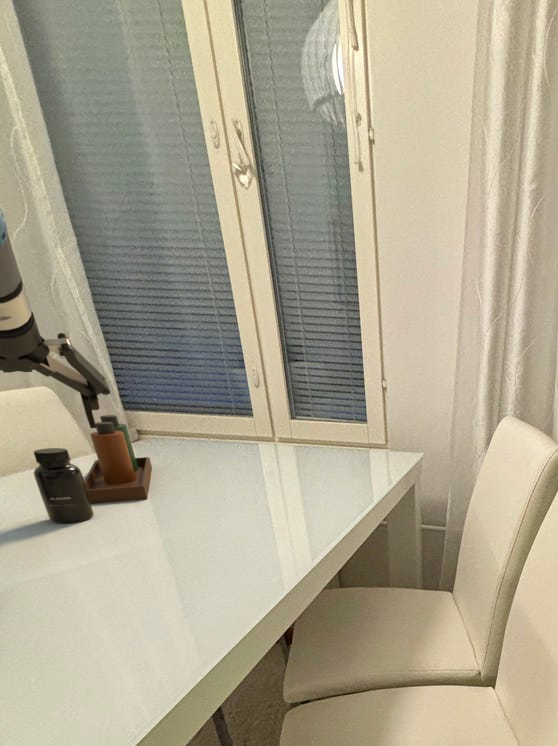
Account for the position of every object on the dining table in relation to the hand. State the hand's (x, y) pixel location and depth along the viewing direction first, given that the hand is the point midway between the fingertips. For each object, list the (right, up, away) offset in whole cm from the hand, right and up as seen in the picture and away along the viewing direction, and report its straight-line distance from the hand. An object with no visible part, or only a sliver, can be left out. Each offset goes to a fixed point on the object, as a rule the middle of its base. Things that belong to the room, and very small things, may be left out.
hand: (38, 424), depth 84 cm
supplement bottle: (-7, -11, +16) cm, 21 cm away
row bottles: (-14, +5, +42) cm, 44 cm away
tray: (-12, +1, +37) cm, 39 cm away
